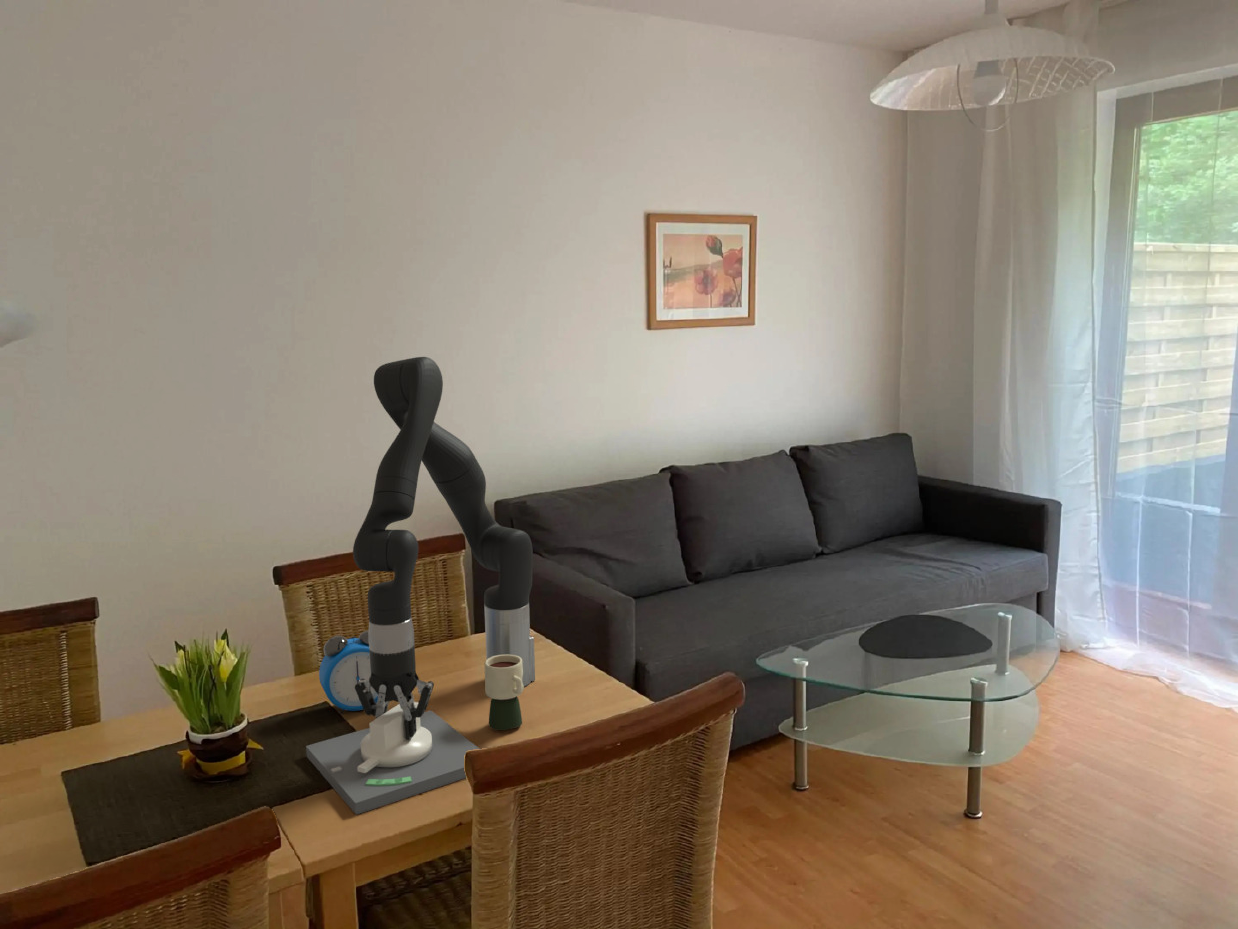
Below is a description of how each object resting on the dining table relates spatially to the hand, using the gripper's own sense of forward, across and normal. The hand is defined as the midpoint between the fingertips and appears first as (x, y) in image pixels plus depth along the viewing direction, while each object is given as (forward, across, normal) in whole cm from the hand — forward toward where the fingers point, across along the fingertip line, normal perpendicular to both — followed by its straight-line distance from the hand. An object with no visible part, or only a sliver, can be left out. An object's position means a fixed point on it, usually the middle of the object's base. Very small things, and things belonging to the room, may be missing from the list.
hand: (397, 737), depth 164 cm
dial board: (+5, 0, 0) cm, 5 cm away
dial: (+2, +1, +2) cm, 3 cm away
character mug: (+5, -15, -15) cm, 22 cm away
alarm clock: (+5, +16, -21) cm, 27 cm away
